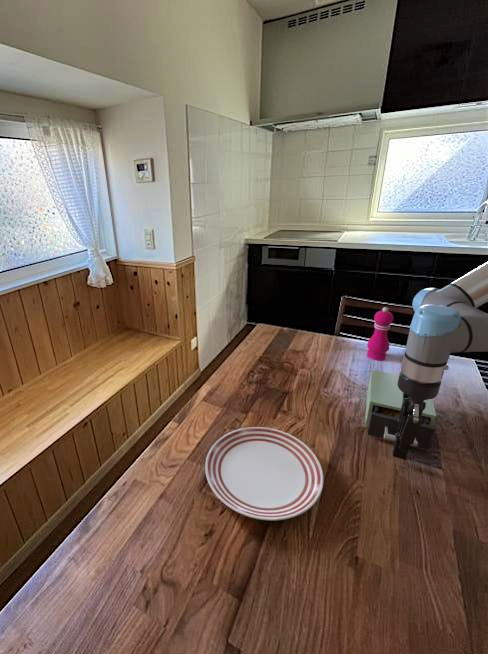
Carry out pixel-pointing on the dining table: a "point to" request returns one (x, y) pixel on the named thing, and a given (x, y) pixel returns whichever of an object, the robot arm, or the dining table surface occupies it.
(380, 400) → the mint green cabinet
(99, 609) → the dining table surface
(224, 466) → the dinner plate
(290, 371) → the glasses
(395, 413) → the pastry
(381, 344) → the pepper mill
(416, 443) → the drawer
